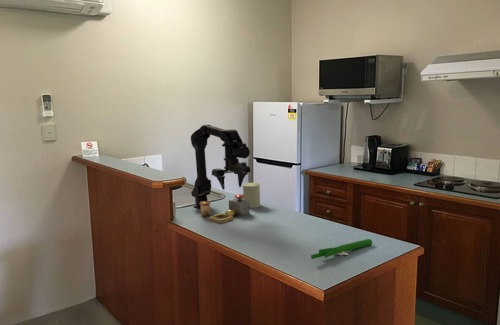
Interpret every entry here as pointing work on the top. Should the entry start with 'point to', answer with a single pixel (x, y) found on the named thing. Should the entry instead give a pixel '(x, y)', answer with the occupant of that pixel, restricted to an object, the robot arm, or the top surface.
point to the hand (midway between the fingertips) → (231, 188)
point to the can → (252, 194)
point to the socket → (225, 219)
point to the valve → (238, 206)
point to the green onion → (342, 249)
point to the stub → (205, 208)
